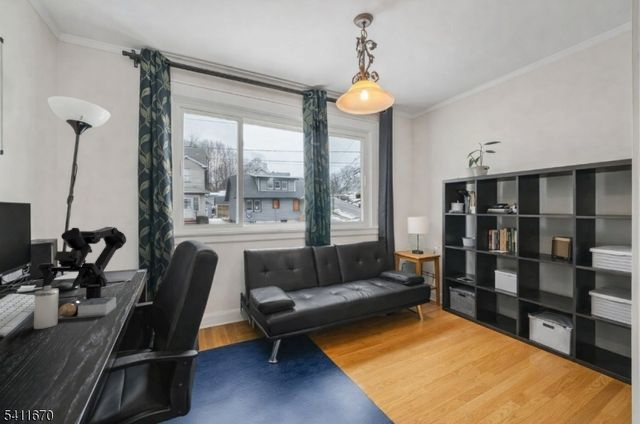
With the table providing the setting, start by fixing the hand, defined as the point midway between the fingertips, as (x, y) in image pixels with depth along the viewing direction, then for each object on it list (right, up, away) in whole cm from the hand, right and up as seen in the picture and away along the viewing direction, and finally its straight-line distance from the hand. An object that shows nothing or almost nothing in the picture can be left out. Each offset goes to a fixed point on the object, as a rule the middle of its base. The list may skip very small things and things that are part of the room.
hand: (58, 288), depth 102 cm
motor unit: (+6, -12, +6) cm, 15 cm away
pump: (+1, -12, -5) cm, 13 cm away
